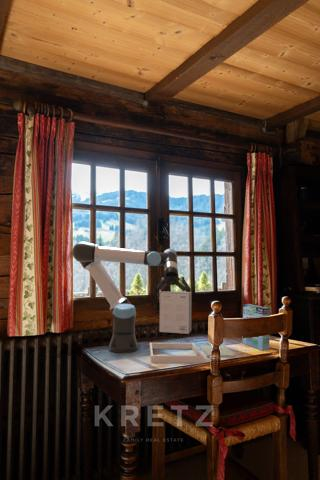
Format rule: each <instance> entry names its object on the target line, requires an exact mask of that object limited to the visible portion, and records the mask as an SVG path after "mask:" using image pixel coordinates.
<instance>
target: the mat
mask: <svg viewBox="0 0 320 480" xmlns="http://www.w3.org/2000/svg"><path fill="white" fill-rule="evenodd" d="M212 346H213V345H200V350H201V351H202V352H203V354H204V355H205V356H206V358H211V357H210V356H211V350H212ZM219 346H220V351H221V357H220V358H235V357H236V355H235V354H234V352H232V350H230V349H229V347H227V346H226V345H219Z"/></svg>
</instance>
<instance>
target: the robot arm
mask: <svg viewBox="0 0 320 480" xmlns="http://www.w3.org/2000/svg"><path fill="white" fill-rule="evenodd" d="M72 257H73V258H74V259H75V260H76V261H77V262H79V264H80V265H81V267H82V268H83V270H87V271H88V272H89V274H90V275H91V278H93V280H94V282H95V284H96V285H97V287H98V288H99V290H100V291H101V293H102V294H103V296H104V297H105V299H106V301H107V302H108V303H109V310H110V312H111V314H112V317H113V319H112V322H113V323H112V336H111V339H110V342H109V345H108V349H109V350H108V351H110V352H113V353H116V354H117V353H118V354H119V353H122V354H123V353H125V354H126V353H134V352H137V351H138V350H139V344H138V341H137V338H136V332H135V331H136V317H137V311H136V310H137V309H136V307H135V305H133V304H132V303H131V302H130V300H129V299H128V298H127V297H125V296H123V294H122V293H121V291H120V290H119V288H118V286H117V285H116V284H115V282H114V280H113V278H111V275H110V274H109V272H108V271H107V270H106V268H105V266H104V264H103V263H102V262H103V261H104V262H112V263H122V264H133V265H134V264H135V265H144V266H153V267H157V266H164V277H162V276H161V275H160V276H159V277H158V280H157V281H156V283H155V285H154V287H153V293H155V292H156V297H157V298H158V299H159V301H158V302H159V304H160V292H162V291H163V290H164V289H165V288H166V287H167V286H168V285H169V286H176V287H178V288H179V289H180V290H181V292H192V291H191V290H192V289H191V287H190V286H189V284H188V282H187V281H186V280H185V276H182V277H179V269H178V255H177V252H176V250H175V249H174V248H167V249H165V250H164V251H163V252H158V251H149V250H138V249H128V248H119V247H109V246H100V245H98V244H95V243H92V242H88V241H79V242H77V243H75V245H74V246H73V247H72ZM162 282H163V283H162ZM161 283H162V284H161Z"/></svg>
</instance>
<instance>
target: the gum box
mask: <svg viewBox="0 0 320 480" xmlns="http://www.w3.org/2000/svg"><path fill="white" fill-rule="evenodd" d="M242 304H243V305H242V319H243V318H249V317H261V316H270V317H271V308H270V307H265V306H260V305H256V304H251V303H245V304H244V303H242ZM270 340H271V339H270V335H265V336H259V337H253V338H244V339H243V338H242V344H243V345H247V346H249V347H252V348H254V349H256V350H259V349H260V351H261V350H269V351H270Z"/></svg>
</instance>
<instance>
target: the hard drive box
mask: <svg viewBox="0 0 320 480" xmlns="http://www.w3.org/2000/svg"><path fill="white" fill-rule="evenodd" d="M192 297H193V296H192V291H191V292H183V291H169V290H167V291H165V290H164V291H163V290H161V292H160V303H159V319H158V320H159V321H158V322H159V323H158V330H159V331H158V332H159V333H171V334H172V333H173V334H187V335H189V334H190V333H191V332H192V305H193V304H192Z"/></svg>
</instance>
